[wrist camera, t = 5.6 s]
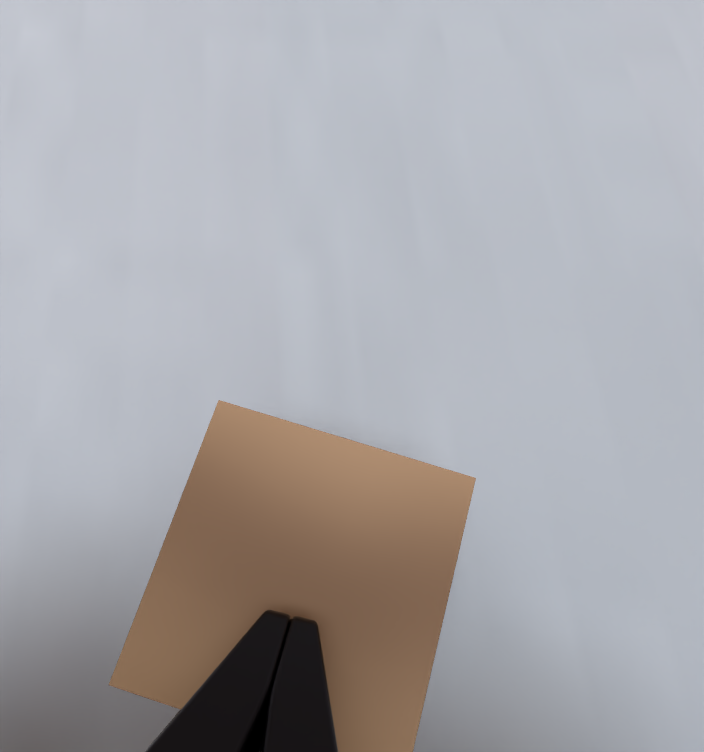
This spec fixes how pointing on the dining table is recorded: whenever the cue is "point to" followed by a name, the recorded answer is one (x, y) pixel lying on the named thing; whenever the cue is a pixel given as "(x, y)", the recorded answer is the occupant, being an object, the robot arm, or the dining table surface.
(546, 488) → the dining table surface
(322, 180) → the dining table surface
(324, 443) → the plain block
